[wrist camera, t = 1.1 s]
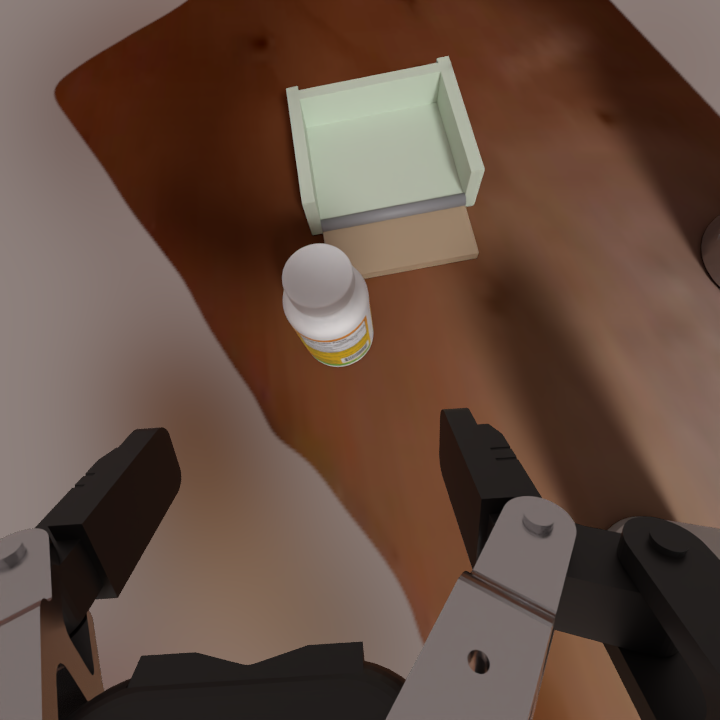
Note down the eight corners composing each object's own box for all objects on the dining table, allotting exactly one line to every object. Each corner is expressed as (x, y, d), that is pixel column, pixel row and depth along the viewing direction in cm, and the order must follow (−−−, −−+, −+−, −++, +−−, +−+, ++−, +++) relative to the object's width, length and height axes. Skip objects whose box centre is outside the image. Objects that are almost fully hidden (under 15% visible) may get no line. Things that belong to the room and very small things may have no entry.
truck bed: (442, 100, 36) (448, 56, 32) (488, 255, 31) (502, 225, 27) (297, 128, 37) (285, 88, 33) (319, 286, 32) (309, 261, 28)
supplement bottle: (315, 298, 31) (284, 224, 22) (380, 310, 31) (375, 239, 21) (297, 360, 30) (255, 309, 21) (364, 374, 29) (352, 328, 20)
